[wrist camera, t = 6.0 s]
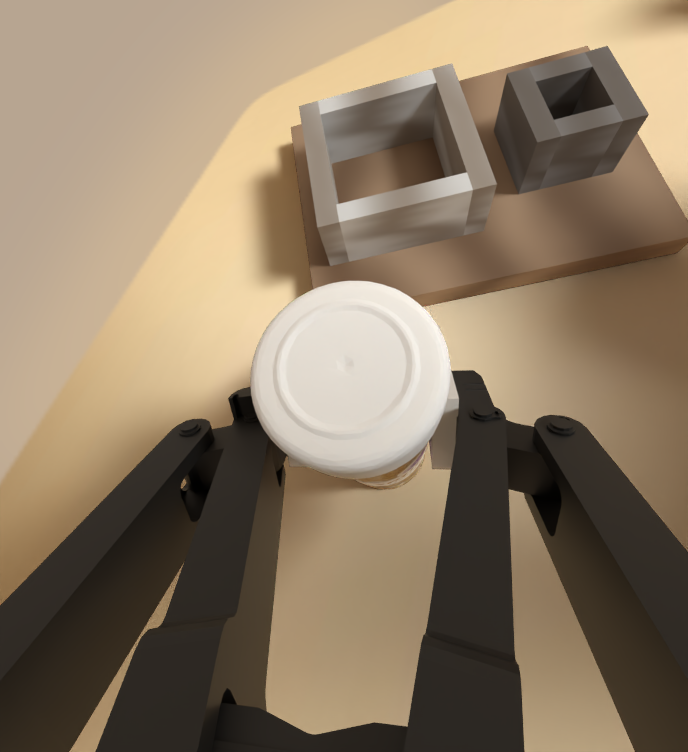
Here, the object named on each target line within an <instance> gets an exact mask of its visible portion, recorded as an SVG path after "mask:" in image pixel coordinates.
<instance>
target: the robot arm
mask: <svg viewBox="0 0 688 752" xmlns="http://www.w3.org/2000/svg"><path fill="white" fill-rule="evenodd" d="M438 327H439V326H438ZM439 329H440V327H439ZM228 399H229V403H230V407H231V410H232V414H233V417H234V421H233V424H232V425H231V426H227V427H222V428H217V429H212V428H211V425H210V422H209V421H207V420H205V419H192V420H188V421H185V422H183V423H181V424H179V425H178V426H176V427H175V428H174V429H172V430H171V431H170V432H169V433H168V434H167V436H166V437H165V438H164V439H163V440H162V441H161V442H160V443H159V444H158V445H157V446H156V447H155V448H154V449H153V450H152V451H151V452H150V453H149V454H148V455H147V456H146V457H145V458H144V459H143V460H142V461H141V462H140V463H139V464H138V465H137V466H136V467H135V468H134V469H133V470H132V471H131V472H130V473H129V474H128V475H127V476H126V477H125V479H124V480H123V481H122V482H121V483H120V484H119V485H118V486H117V487H116V488H115V489H114V490H113V491H112V492H111V493H110V494H109V495H108V496H107V497H106V498H105V499H104V500H103V501H102V502H101V503H100V504H99V505H98V506H97V507H96V508H95V509H94V510H93V511H92V512H91V513H90V514H89V515H88V516H87V517H86V518H85V519H84V520H83V522H82V523H81V524H80V525H79V526H78V527H77V528H76V529H75V530H74V531H73V532H72V533H71V534H70V535H69V536H68V537H67V538H66V539H65V540H64V541H63V542H62V543H61V544H60V545H59V546H58V547H57V548H56V549H55V550H54V551H53V552H52V553H51V554H50V555H49V556H48V557H47V558H46V559H45V560H44V561H43V562H42V563H41V565H40V566H39V567H38V568H37V569H36V570H35V571H34V572H33V573H32V574H31V575H30V576H29V577H28V578H27V579H26V580H25V581H24V582H23V583H22V584H21V585H20V586H19V587H18V588H17V589H16V590H15V591H14V592H13V593H12V594H11V595H10V596H9V597H8V598H7V599H6V600H5V601H4V602H3V603H2V604H1V605H0V752H69V751H70V750H71V748H72V747H73V745H74V743H75V742H76V740H77V738H78V737H79V735H80V733H81V732H82V730H83V728H84V727H85V725H86V723H87V722H88V720H89V718H90V717H91V715H92V713H93V712H94V710H95V708H96V707H97V705H98V703H99V702H100V700H101V698H102V697H103V695H104V694H105V692H106V690H107V689H108V687H109V685H110V684H111V682H112V680H113V679H114V677H115V675H116V674H117V672H118V670H119V669H120V667H121V665H122V664H123V662H124V660H125V659H126V657H127V655H128V654H129V652H130V650H131V649H132V647H133V645H134V644H135V642H136V640H137V639H138V637H139V636H140V634H141V632H142V631H143V629H144V627H145V626H146V624H147V622H148V621H149V619H150V617H151V616H152V614H153V612H154V611H155V609H156V607H157V606H158V604H159V602H160V601H161V599H162V597H163V596H164V594H165V592H166V591H167V589H168V587H169V586H170V584H171V582H172V581H173V579H174V578H175V576H176V574H177V573H178V571H179V569H180V568H181V566H182V564H183V563H184V565H183V567H182V570H181V573H180V576H179V579H178V582H177V585H176V588H175V590H174V593H173V596H172V599H171V602H170V605H169V608H168V610H167V613H166V616H165V618H164V621H163V623H162V624H161V625H160V626H159V627H158V628H154V629H149V630H148V631H147V632H146V633H145V634H144V635H143V636H142V637H141V639H140V641H139V643H138V645H137V647H136V649H135V652H134V654H133V657H132V660H131V662H130V665H129V667H128V670H127V672H126V675H125V678H124V680H123V683H122V685H121V688H120V690H119V693H118V695H117V698H116V701H115V703H114V706H113V708H112V711H111V713H110V716H109V719H108V721H107V724H106V726H105V729H104V731H103V734H102V737H101V739H100V742H99V744H98V747H97V749H96V752H524V736H523V715H522V694H521V679H520V671H519V665H518V664H517V662H516V660H515V651H514V626H513V599H512V572H511V545H510V518H509V491H508V489H511V490H515V491H519V492H523V493H524V495H525V499H526V501H527V504H528V506H529V508H530V510H531V513H532V515H533V517H534V520H535V522H536V524H537V527H538V529H539V531H540V533H541V536H542V538H543V540H544V543H545V545H546V547H547V550H548V552H549V554H550V557H551V559H552V561H553V563H554V566H555V568H556V570H557V573H558V575H559V577H560V580H561V582H562V584H563V586H564V589H565V591H566V593H567V596H568V598H569V600H570V603H571V605H572V607H573V610H574V612H575V614H576V616H577V619H578V621H579V623H580V626H581V628H582V630H583V633H584V635H585V637H586V639H587V642H588V644H589V646H590V649H591V651H592V653H593V656H594V658H595V660H596V663H597V665H598V667H599V669H600V672H601V674H602V676H603V679H604V681H605V683H606V686H607V688H608V690H609V692H610V695H611V697H612V699H613V702H614V704H615V706H616V709H617V711H618V713H619V716H620V718H621V720H622V722H623V725H624V727H625V729H626V732H627V734H628V736H629V739H630V741H631V743H632V745H633V748H634V750H635V752H688V552H687V551H686V549H685V548H684V547H683V546H682V544H681V543H680V542H679V541H678V540H677V538H676V537H675V536H674V535H673V533H672V532H671V531H670V530H669V528H668V527H667V526H666V525H665V524H664V522H663V521H662V520H661V519H660V517H659V516H658V515H657V514H656V513H655V511H654V510H653V509H652V508H651V506H650V505H649V504H648V503H647V501H646V500H645V499H644V498H643V497H642V495H641V494H640V493H639V492H638V490H637V489H636V488H635V487H634V486H633V484H632V483H631V482H630V481H629V479H628V478H627V477H626V476H625V474H624V473H623V472H622V471H621V470H620V468H619V467H618V466H617V465H616V463H615V462H614V461H613V460H612V459H611V457H610V456H609V455H608V454H607V452H606V451H605V450H604V449H603V448H602V446H601V445H600V444H599V443H598V441H597V440H596V439H595V438H594V436H593V435H592V434H591V433H590V432H589V430H588V429H587V428H586V427H585V426H584V425H583V424H581V423H580V422H578V421H576V420H574V419H572V418H569V417H565V416H560V415H559V416H557V415H549V416H543V417H541V418H539V419H537V420H536V422H535V425H534V427H532V426H526V425H521V424H516V423H513V422H510V421H508V420H506V417H505V414H504V412H502V411H501V410H500V409H498V408H496V407H494V405H493V403H492V400H491V398H490V396H489V393H488V391H487V388H486V386H485V385H484V381H483V379H482V377H481V376H480V375H479V374H478V373H476V372H475V371H473V370H469V371H451V378H450V389H449V394H448V398H447V402H446V406H445V409H444V412H443V415H442V417H441V420H440V422H439V424H438V426H437V428H436V430H435V432H434V434H433V436H432V437H431V439H430V440H429V444H430V453H431V462H432V469H451V475H450V482H449V488H448V495H447V501H446V508H445V514H444V521H443V527H442V533H441V540H440V546H439V553H438V559H437V566H436V572H435V579H434V585H433V592H432V598H431V605H430V611H429V618H428V624H427V629H426V633H425V634H424V635H423V639H422V643H421V649H420V654H419V660H418V666H417V673H416V679H415V685H414V691H413V697H412V703H411V710H410V716H409V722H408V727H405V726H397V725H390V724H382V723H370V724H365V725H360V726H356V727H351V728H346V729H341V730H337V731H332V732H327V733H322V734H317V735H312V734H308V733H306V732H304V731H302V730H300V729H298V728H296V727H294V726H293V725H291V724H289V723H287V722H285V721H283V720H281V719H279V718H277V717H276V716H274V715H272V714H270V713H268V712H267V711H266V700H265V687H266V674H267V664H268V653H269V643H270V632H271V622H272V611H273V601H274V590H275V580H276V569H277V559H278V548H279V538H280V527H281V517H282V506H283V496H284V485H285V475H286V474H285V469H284V465H283V463H284V461H285V458H286V456H288V455H287V454H286V453H284V452H283V451H282V450H281V449H280V448H279V447H278V446H277V445H276V444H275V443H274V442H273V441H272V440H271V439H270V437H269V436H268V435H267V433H266V432H265V431H264V429H263V427H262V425H261V423H260V421H259V419H258V417H257V414H256V411H255V408H254V405H253V402H252V401H253V400H252V397H251V387H248V388H244V389H241V390H238V391H236V392H235V393H233V394H232V395H231V396H230V397H229V398H228ZM288 461H289V466H290V467H307V466H305V465H303V464H301V463H300V462H298V461H296V460H294V459H293V458H291V457H290V456H288ZM184 478H185V480H186V485H185V486H184V487H183V488H182V489H181V483H182V481H183V479H184ZM184 561H185V562H184Z"/></svg>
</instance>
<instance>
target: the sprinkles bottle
mask: <svg viewBox="0 0 688 752" xmlns="http://www.w3.org/2000/svg"><path fill="white" fill-rule="evenodd" d="M450 378H451V364H450V359H449V353H448V348H447V345H446V342H445V339H444V337H443V335H442V333H441V331H440V329H439V327H438V325H437V324H436V323H435V321H434V320H433V318H432V317H431V316H430V314H429V313H428V312H427V311H426V310H425V309H424V308H423V307H422V306H421V305H420V304H419V303H418V302H416V301H415V300H413V299H412V298H411V297H409V296H408V295H406V294H404V293H403V292H401V291H399V290H397V289H395V288H392V287H389V286H386V285H383V284H378V283H374V282H369V281H342V282H336V283H331V284H327V285H324V286H321V287H318V288H315V289H313V290H311V291H309V292H307V293H305V294H303V295H301V296H300V297H298V298H296V299H295V300H293V301H292V302H291V303H289V304H288V305H287V306H286V307H285V308H284V309H283V310H281V311H280V312H279V313H278V314H277V315H276V317H275V318H274V319H273V320H272V321H271V323H270V324H269V325H268V327H267V328H266V330H265V332H264V333H263V335H262V337H261V339H260V341H259V343H258V345H257V348H256V351H255V354H254V358H253V362H252V367H251V377H250V384H251V397H252V400H253V401H252V402H253V405H254V408H255V411H256V414H257V417H258V419H259V421H260V423H261V425H262V427H263V429H264V431H265V432H266V433H267V435H268V436H269V437H270V439H271V440H272V441H273V442H274V443H275V444H276V445H277V446H278V447H279V448H280V449H281V450H282V451H283V452H284V453H286V454H287V455H288V456H290V457H291V458H293V459H294V460H296V461H298V462H300V463H301V464H303V465H305V466H307V467H309V468H312V469H314V470H316V471H319V472H321V473H324V474H327V475H330V476H334V477H339V478H345V479H354V480H356V481H358V482H360V483H363V484H365V485H367V486H370V487H373V488H376V489H394V488H397V487H399V486H401V485H403V484H406V483H407V482H408V481H409V480H411V479H412V478H413V477H414V476H415V475H416V474H417V473H418V471H419V469H420V467H421V466H422V463H423V460H424V456H425V450H426V447H427V443H428V441H429V440H430V439H431V437H432V436H433V434H434V432H435V430H436V428H437V426H438V424H439V422H440V420H441V417H442V415H443V412H444V409H445V406H446V402H447V398H448V394H449V389H450Z"/></svg>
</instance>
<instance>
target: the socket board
mask: <svg viewBox="0 0 688 752" xmlns="http://www.w3.org/2000/svg"><path fill="white" fill-rule="evenodd" d="M299 109H300V116H301V122H302V124H301V125H297V126H293V127H291V133H292V140H293V148H294V155H295V162H296V170H297V177H298V184H299V192H300V199H301V206H302V214H303V221H304V228H305V236H306V243H307V250H308V258H309V265H310V272H311V280H312V287H313V289H315V288H318V287H321V286H324V285H327V284H331V283H336V282H342V281H369V282H374V283H378V284H383V285H386V286H389V287H392V288H395V289H397V290H399V291H401V292H403V293H404V294H406V295H408V296H409V297H411V298H412V299H413V300H415V301H416V302H418V303H419V304H420V305H421V306H422V307H423V306H427V305H432V304H437V303H442V302H446V301H451V300H456V299H461V298H465V297H470V296H475V295H480V294H484V293H489V292H494V291H499V290H503V289H508V288H513V287H518V286H522V285H527V284H532V283H537V282H541V281H546V280H551V279H555V278H560V277H565V276H570V275H574V274H579V273H584V272H589V271H593V270H598V269H603V268H608V267H612V266H617V265H622V264H627V263H631V262H636V261H641V260H646V259H650V258H655V257H660V256H665V255H669V254H674V253H677V252H679V251H680V250H681V249H682V248H683V247H684V246H685V245H686V244H687V243H688V220H687V219H686V217H685V215H684V213H683V212H682V210H681V208H680V206H679V205H678V203H677V201H676V199H675V198H674V196H673V194H672V192H671V191H670V189H669V187H668V185H667V184H666V182H665V180H664V179H663V177H662V175H661V173H660V172H659V170H658V168H657V166H656V165H655V163H654V161H653V159H652V158H651V156H650V154H649V152H648V151H647V149H646V147H645V145H644V144H643V142H642V140H641V138H640V137H639V135H638V133H637V132H638V131H639V129H640V128H641V126H642V124H643V123H644V121H645V120H646V118H647V116H648V115H649V114H648V112H647V111H646V109H645V107H644V106H643V104H642V102H641V101H640V99H639V97H638V96H637V94H636V92H635V91H634V89H633V87H632V86H631V84H630V82H629V81H628V79H627V77H626V76H625V74H624V72H623V71H622V69H621V68H620V66H619V64H618V63H617V61H616V59H615V58H614V56H613V54H612V53H611V51H610V49H609V48H608V46H606V47H602V48H598V49H595V50H591V51H590V49H589V48H588V46H585V47H581V48H578V49H574V50H570V51H567V52H563V53H559V54H556V55H552V56H549V57H545V58H541V59H538V60H534V61H530V62H527V63H523V64H519V65H516V66H512V67H508V68H505V69H501V70H498V71H494V72H490V73H487V74H483V75H479V76H476V77H472V78H468V79H465V80H461V81H458V78H457V75H456V73H455V70H454V67H453V64H448V65H445V66H441V67H437V68H434V69H430V70H427V71H423V72H420V73H416V74H412V75H409V76H405V77H402V78H398V79H395V80H391V81H387V82H384V83H380V84H377V85H373V86H370V87H366V88H362V89H359V90H355V91H352V92H348V93H345V94H341V95H338V96H334V97H330V98H327V99H323V100H320V101H316V102H313V103H309V104H305V105H302V106H299Z"/></svg>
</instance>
